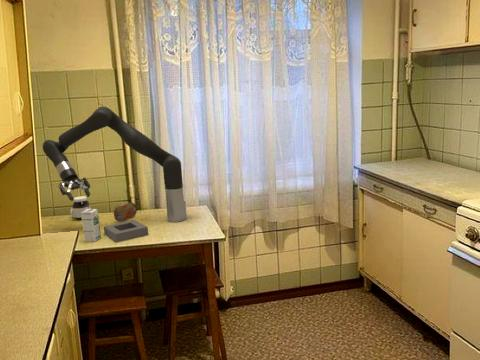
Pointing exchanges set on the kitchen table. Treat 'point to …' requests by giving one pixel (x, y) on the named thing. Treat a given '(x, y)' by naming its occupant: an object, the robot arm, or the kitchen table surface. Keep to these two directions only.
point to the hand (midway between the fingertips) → (80, 197)
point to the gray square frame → (125, 230)
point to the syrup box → (91, 224)
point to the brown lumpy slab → (125, 212)
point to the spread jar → (79, 207)
